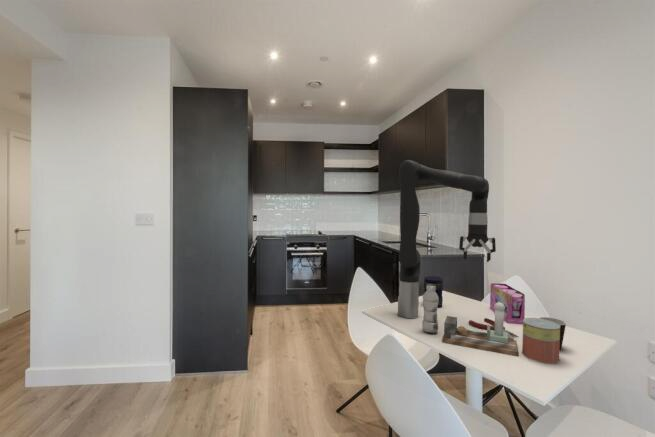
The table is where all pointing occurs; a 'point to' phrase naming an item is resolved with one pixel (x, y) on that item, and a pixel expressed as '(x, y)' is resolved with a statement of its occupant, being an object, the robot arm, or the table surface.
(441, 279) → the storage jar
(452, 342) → the base
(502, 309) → the grey post on base
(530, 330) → the canned food
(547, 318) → the coffee mug
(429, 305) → the plastic bottle
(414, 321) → the table surface
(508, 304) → the gum box
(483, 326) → the pliers
